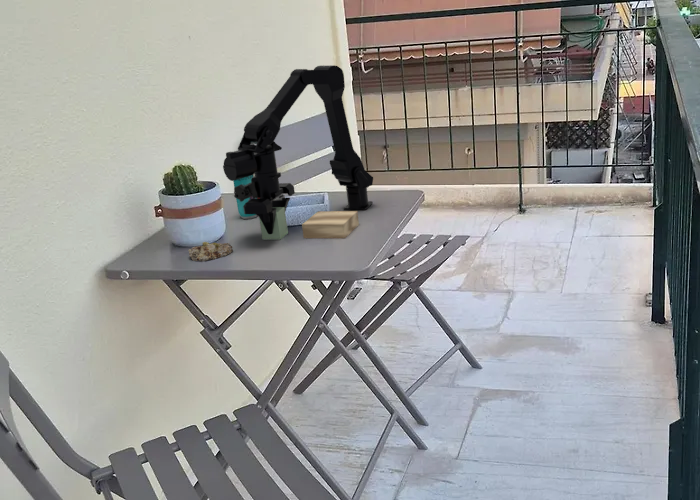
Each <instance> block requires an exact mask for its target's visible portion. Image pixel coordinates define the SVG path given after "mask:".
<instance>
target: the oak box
mask: <svg viewBox="0 0 700 500" xmlns="http://www.w3.org/2000/svg"><path fill="white" fill-rule="evenodd" d="M358 213H359V212H358V210H338V211H337V210H336V211H335V210H334V211H331V210H330V211H327V210H326V211H322V210H320V211H317V212H316V213H314V214H313V215H312V216H310V218H308V219H307V220H306V221H304V222H303V223H302V224H301V227H302V228H301V229H302V235H303V239H346V238H347V237H348V236H349V235H350V234H351V233H352V232H353V231H354V230H355V229H356V228H358V226H359V225H360V223H359V222H360V221H359V214H358Z"/></svg>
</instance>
